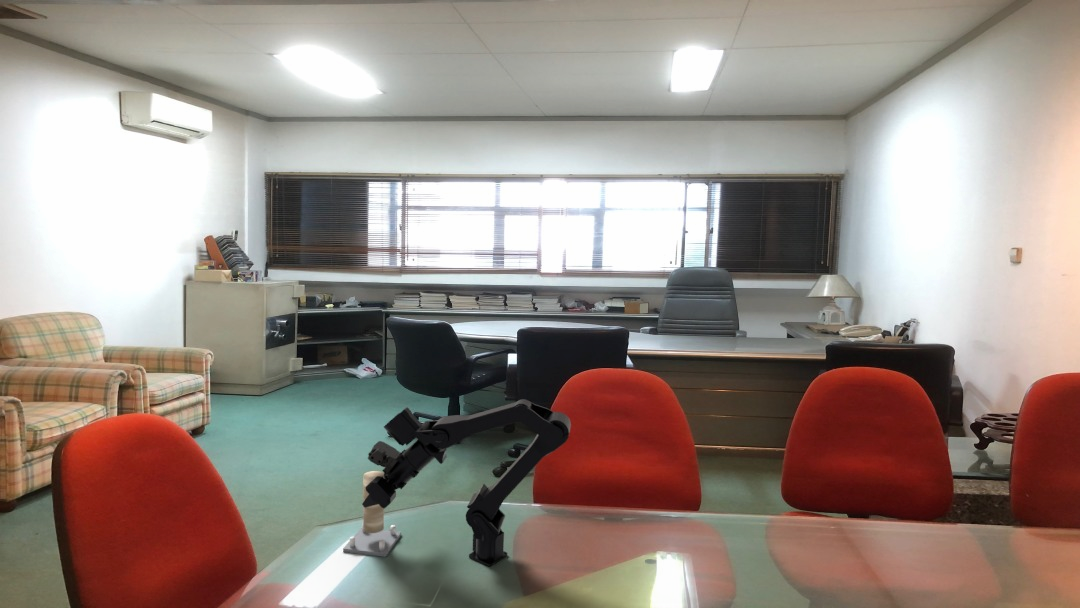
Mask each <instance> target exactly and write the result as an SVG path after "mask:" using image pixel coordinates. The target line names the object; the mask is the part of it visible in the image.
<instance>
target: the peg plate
mask: <svg viewBox="0 0 1080 608" xmlns="http://www.w3.org/2000/svg"><path fill="white" fill-rule="evenodd" d="M396 527H397V526H396V525H395V524H392V525H390V530H388V529H383V530H382V531H380V532H378V533H366V532H364V530H363V522H362V524H361V527H360V528H359V529H358V531H357V532H356V533H355V534H354V536H350V537H349V541H348V543H347V544H346V545H345V546H343V548H342V549H343V550H342V552H343V553H351V554H356V555H358V554H359V555H367V556H378V557H387V556H388V554H389V553H390V552H391V550H392V549H393V548H394V546H395V545H396V543H397V541H399V539H400V537H401V536H402V531H397V528H396Z"/></svg>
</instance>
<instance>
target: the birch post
mask: <svg viewBox="0 0 1080 608" xmlns="http://www.w3.org/2000/svg"><path fill="white" fill-rule="evenodd" d="M362 476H363V477H362V478H363V479H362V480H363V486H362V487H363V488H362V489H363V491H362V493H363V498H362V499H363V502H364V501H365V499H366V498H367V496H368V495H369V493H368V492H367V491H366V488H365V487H366V486H367V485H368V484H369V483H370V482H371V481H372V480H373V479H374V478H375V477H377V476H381V477H383V478H384V472H383V471H381V470H380V471H379V470H372V471H367V472H365V473H364V474H363V475H362ZM363 502H362V503H363ZM362 507H363V508H362V509H363V510H362V513H363V515H362V523H363V530H364V532H366V533H378V532H380V531H382V530H385V529H384V528H385V523H384V521H385V520H384V519H385V509H384V508H382V507H381V506H380V505H379V504H378V505H374V506H370V507H366V508H365V507H364V506H363V505H362Z"/></svg>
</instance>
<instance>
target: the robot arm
mask: <svg viewBox="0 0 1080 608" xmlns="http://www.w3.org/2000/svg"><path fill="white" fill-rule="evenodd" d="M519 422H520V423H522V425H524V426H526V427H527V428H528V429H530V430H531V431H532V432H534V433H535V434H536V436H535V438H534V439H533V441H532V442H530V443H529V445H528V446H527V447H526V448H525V450H523V452H522V453H521V454H520V455H519V456H518V458H516V459H515V461H514V462H513V463H511V465H510V466H509V467H508V469H506V471H504V473H503V474H502V475H501V476H500V477H499V478H498V480H496V482H494V483H493V484H492V485H490V486H489V487H488V486H487V485H486V484H485V483H483V484H482V486H480V489H479V490H478V491H477V492H475V493H473V494H472V496H471V498H470V500H469V502H468V504H467V506H466V508H467V511H466V512H465V521H466V523H467V524H468V526H469V527H470V528H471V530H472V533H473V534H472V552H470V553H469V554H468V557H469V558H470V559H472V560H475V561H476V562H479V563H481V564H483V565H485V566H488V567H492V566H493V565H495V564H497V563H498V562H499V561H501V560H503V559H505V557H507V556H508V552H507V551H504V541H505V532H504V531H503V530H502V526H503V523H504V520H505V518H506V515H505V513H504V512H503V511H502V510H501V509H500V508H501V506H502V504H503V502H504V501H505V500H506V499H507V498H508V496H509V495H511V493H512V492H513V491H514V490H515V489H516V488H517V486H518V485H519V484H521V483H522V481H523V480H524V479H525V478H526V477H527V476H528V474H530V472H531V471H533V469H534V468H535V467H536V466H537V465H538V463H540V462H541V460H542V459H543V458H545V457H546V456H548V455H550V454H552V453H553V452H555V451H556V450H558V449H559V448H561V447H562V446H563V445H564V444H565V443H566V442H567V441H568V439H569V437H570V432H571V427H572V423H571V418H569V416H568V415H567V414H565V413H564V412H560V411H556V412H555V411H554V410H552V409H549V408H547V407H544V406H541V405H539V404H535V403H534V402H531V401H529V400H528V399H525V398H523V399H519V400H518V401H515V402H512V403H509V404H506V405H505V404H504V405H502V406H499V407H494V408H491V409H488V410H484V411H481V412H476V413H474V414H469V415H464V414H463V415H461V414H456V415H447V416H443V417H440V418H439V419H438V420H437V419H436V420H425V421H424V422H423V423H421V421H419V419H418V418H417V417H416V416H415V415H414V414H413V412H412V411H411V409H410V408H409V407H405V408H404V409H403V410H402V411H401V412H399V413H397V414H396V415H395V416H394V417H392V418H391V420H389V421H388V422H387V423H386V424H385V425H384V426H383V428H384V430H386V432H387V433H388V434H389V435H390V436H391V437H392V438H393V439H394V440H395V441H396V443H397V444H398V445H399V446H402V447H403V446H404V445H405V446H408V445H410V444H411V443H412V442H413V441H414V440H415V439H417V440H415V442H414V443H412V444H411V445H410V446H408V448H407V449H403V450H402V451H399V450H397V448H395V447H393V446H392V445H390V444H388V443H386V442H384V441H381V440H378V441H377V442H376V443H375V444H374V445H373V446H372V448H371V450H370V451H369V452H368V454H367V455H368V456H367V459H368V460H369V461H370V462H371V463H373V464H374V465H375V466H380V467H383V469H382V471H381V472H383V473H384V478H383V477H381V476H377V477H375V478H374V479H373V480H372V481H371V482H370V483H369V484H368V485H367V486H366V487H365V488H366V491H367V492H368V493H369V495H368V496H367V498H366V499H365V501H364V502H362V503H361V505H362V507H363V506H364V507H365V508H366V507H370V506H374V505H378V504H379V505H380V506H381V507H382V508H384V510H385V509H386V508H387V507H388V506H389V505H391V504H392V502H393V501H394V500H395V499H396V497H397V491H396V490H398V489H400V490H402V489H403V488H404V487H405V486H406V485H407V484H408V483H409V482H410V481H411V480H412V479H414V478H416V477H417V476H418V475H419V474H420V472H422V470H424V468H426V467H427V466H428V465H429V464H430V463H431V462H433V461H434V460H436V461H437V462H438V464H440V465H442V464H443V463H444V462H445V461H446V459H447V450H448V448H450V447H452V446H455V445H457V444H458V443H460V442H462V441H464V440H465V439H467V438H469V437H471V436H473V435H476V434H481V433H484V432H486V431H490V430H495V429H498V428H501V427H505V426H508V425H512V424H515V423H519Z"/></svg>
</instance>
